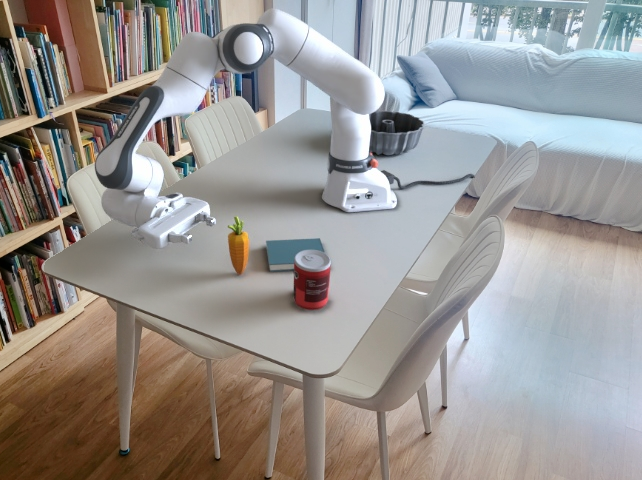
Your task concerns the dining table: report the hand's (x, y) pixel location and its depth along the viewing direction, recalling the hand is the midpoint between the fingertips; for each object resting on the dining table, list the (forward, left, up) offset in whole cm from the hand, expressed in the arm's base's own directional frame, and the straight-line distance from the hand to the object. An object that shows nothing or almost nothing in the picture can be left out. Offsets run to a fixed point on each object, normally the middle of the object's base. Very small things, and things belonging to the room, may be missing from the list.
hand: (202, 230), depth 123 cm
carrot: (-9, +5, -9) cm, 14 cm away
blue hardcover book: (-22, -2, -9) cm, 24 cm away
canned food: (-25, +15, -9) cm, 31 cm away
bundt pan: (-57, -79, -9) cm, 98 cm away
